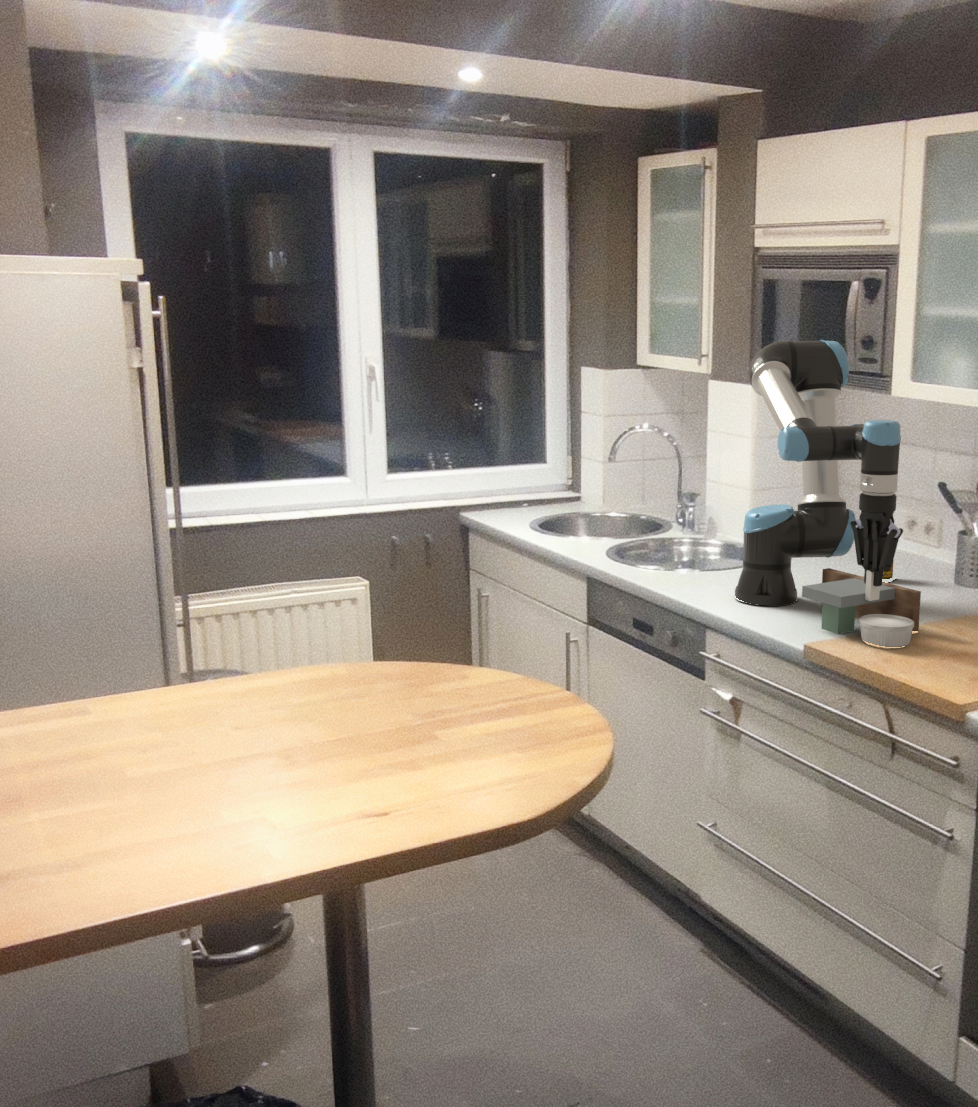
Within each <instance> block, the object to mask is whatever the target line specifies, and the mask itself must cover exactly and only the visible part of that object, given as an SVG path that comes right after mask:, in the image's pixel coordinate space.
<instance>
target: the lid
mask: <svg viewBox="0 0 978 1107" xmlns="http://www.w3.org/2000/svg"><path fill="white" fill-rule="evenodd" d="M865 590H866V584H865V583H864V580H861V579H857V578H852V579H845V580H839V581H832V582H826V583H822V582H821V583H815V584H807V585H802V588H801V597H802V598H805V599H809V600H812V601H815V602H817V603H820V604H821V603H824V604H828V605H831V606H835V607H838V608H845V607H851V606H857V605H863V604H869V603H875V602H881V601H887V600H893V599H895V588H892V587H888V586H885V585H881V586H880V594H879V600H873V601H868V600H865Z"/></svg>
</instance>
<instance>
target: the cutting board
mask: <svg viewBox="0 0 978 1107" xmlns="http://www.w3.org/2000/svg"><path fill="white" fill-rule="evenodd" d="M821 574H822V576H821V577H822V578H821V579H822V580H821V583H826V582H832V581H839V580H845V579H852V578H857V579H861V580H864V576H861V575H857V574H853V573H850V572H845V571H842V570H839V569H838V570H837V569H833V568H829V567H828V568H822V573H821ZM882 585H885V586H888V587H892V588H895V599H893V600H887V601H881V602H875V603H869V604H863V605H857V606H856V608H855V619H860V617H862V616H864V615H870V614H887V615H896V616H902V617H906V618H909V619H911V620H913V621H914V627H913V629H912V631H918V632H919V626H920V625H919V624H920V611H921V610H920V609H921V598H922V597H921V595H922V591H920V590H917V589H912V588H909V587H904V586H902V585H897V584H894V583H885V582H882ZM822 604H823V603H821V602H820V608H821V607H822Z"/></svg>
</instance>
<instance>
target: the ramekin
mask: <svg viewBox="0 0 978 1107" xmlns="http://www.w3.org/2000/svg"><path fill="white" fill-rule="evenodd" d="M858 623H859V628H860V638H861V640H862V639H863V640H864V641H866V642H868V643H872V644H875V645H879V646H885V647H902V646H906V645H907V646H908V645H909V644H910V641H911V637H912V635H913V634H912V629H913V627H914V621H913V620H911V619H909V618H906V617H902V616H896V615H887V614H870V615H864V616H862V617H860V619H859V620H858ZM863 640H862V641H863ZM907 646H906V647H907Z"/></svg>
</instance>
